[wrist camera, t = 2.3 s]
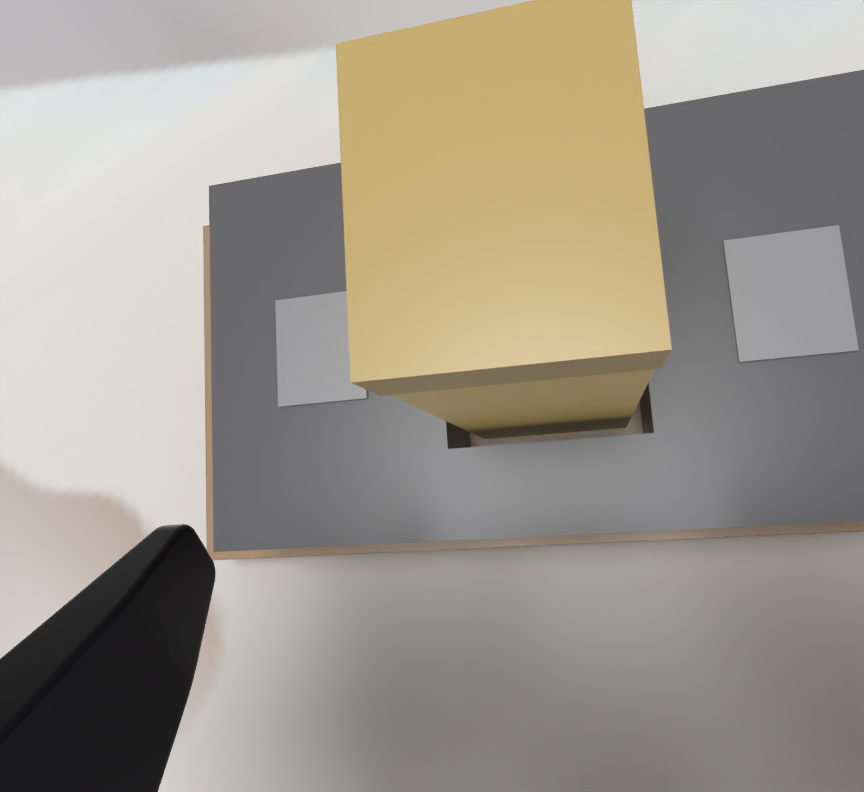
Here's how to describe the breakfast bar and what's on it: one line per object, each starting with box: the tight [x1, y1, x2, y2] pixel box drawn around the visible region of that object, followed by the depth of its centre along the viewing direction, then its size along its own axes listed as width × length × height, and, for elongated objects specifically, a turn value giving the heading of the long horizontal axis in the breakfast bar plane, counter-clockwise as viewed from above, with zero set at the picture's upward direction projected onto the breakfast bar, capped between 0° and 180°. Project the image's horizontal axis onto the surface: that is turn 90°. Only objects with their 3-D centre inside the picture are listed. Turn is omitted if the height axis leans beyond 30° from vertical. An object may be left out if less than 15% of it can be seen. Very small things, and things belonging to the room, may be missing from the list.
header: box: [203, 70, 864, 560], centre depth 17 cm, size 10×20×5 cm, turn 93°
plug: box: [336, 0, 672, 439], centre depth 13 cm, size 4×4×10 cm
